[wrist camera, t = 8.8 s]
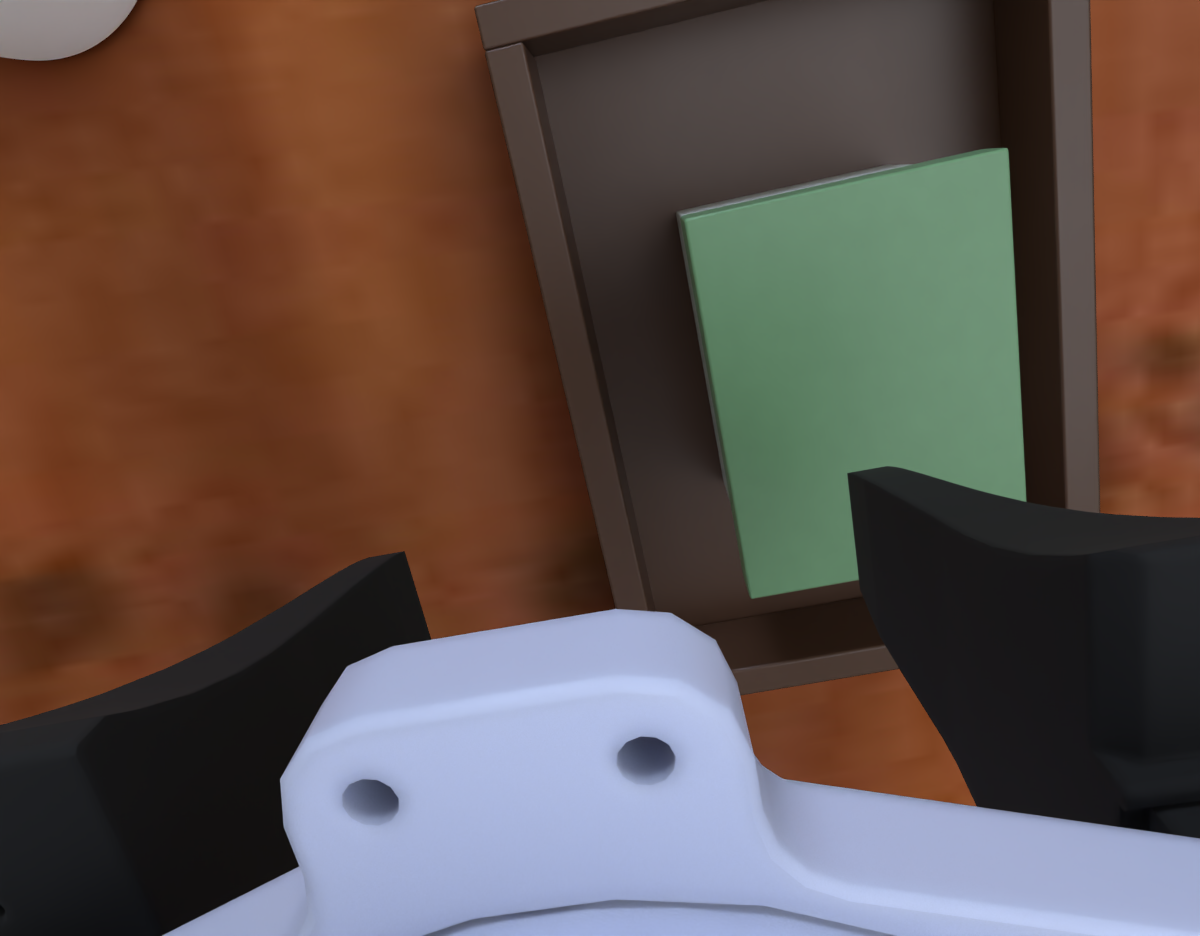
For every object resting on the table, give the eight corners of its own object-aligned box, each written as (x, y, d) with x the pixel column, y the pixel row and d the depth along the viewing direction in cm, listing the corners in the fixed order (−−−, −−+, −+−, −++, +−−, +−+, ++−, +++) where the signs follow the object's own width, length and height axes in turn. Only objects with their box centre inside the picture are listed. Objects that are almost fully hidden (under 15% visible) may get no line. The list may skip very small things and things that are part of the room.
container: (923, 451, 22) (1030, 550, 16) (717, 490, 22) (750, 600, 17) (896, 153, 19) (1010, 146, 14) (665, 204, 20) (683, 219, 14)
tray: (1043, 578, 24) (1103, 636, 21) (637, 648, 25) (639, 713, 22) (1013, -98, 18) (1088, -149, 15) (495, 31, 19) (473, 6, 16)
